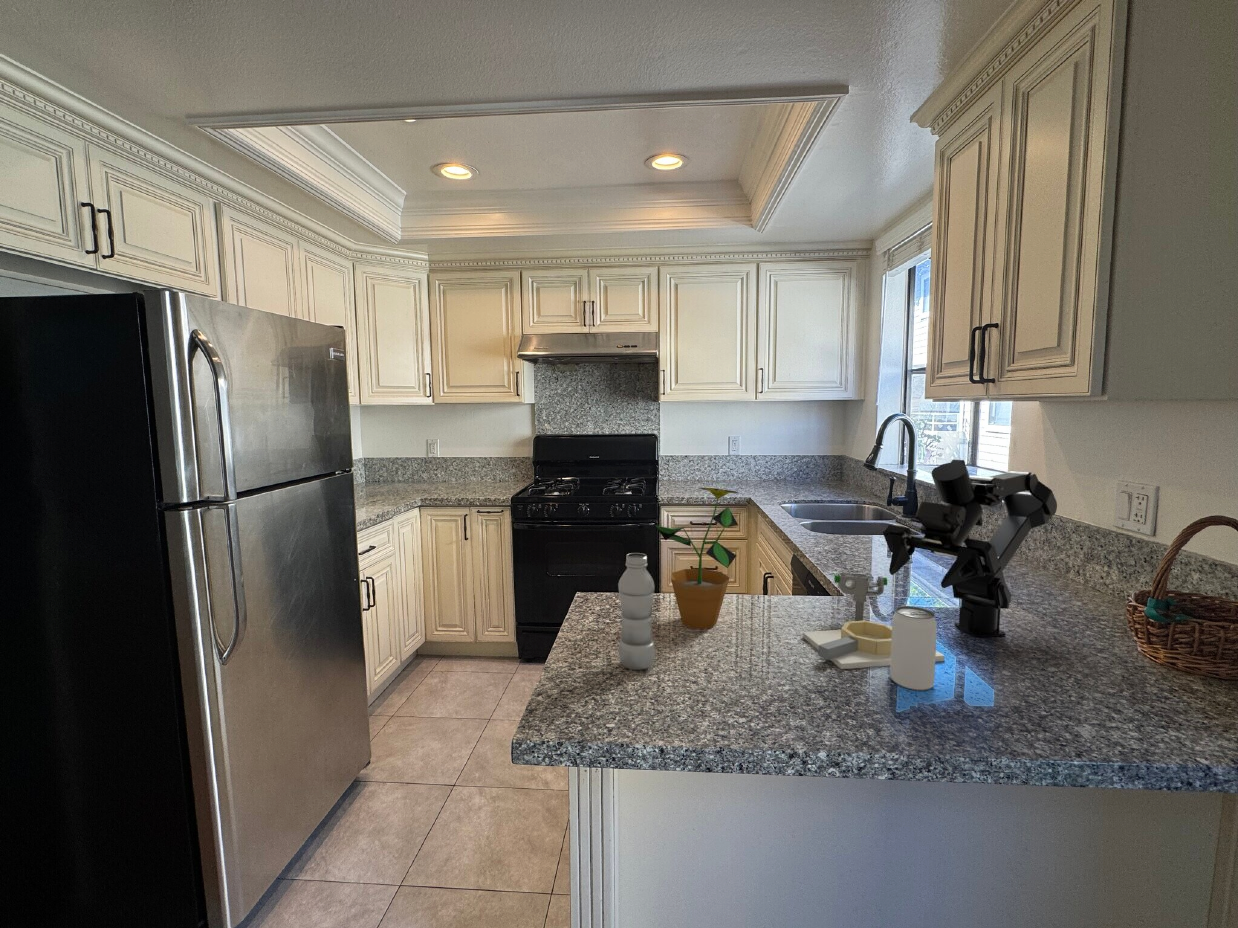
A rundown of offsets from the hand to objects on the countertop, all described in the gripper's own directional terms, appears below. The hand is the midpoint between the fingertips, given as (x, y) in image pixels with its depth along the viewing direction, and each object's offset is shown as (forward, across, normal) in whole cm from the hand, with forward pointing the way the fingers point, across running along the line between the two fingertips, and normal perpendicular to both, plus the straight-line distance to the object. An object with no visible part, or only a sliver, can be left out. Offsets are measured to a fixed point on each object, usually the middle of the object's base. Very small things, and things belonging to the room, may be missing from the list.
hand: (915, 579), depth 97 cm
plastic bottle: (+44, -26, -11) cm, 52 cm away
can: (+15, +4, +8) cm, 18 cm away
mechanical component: (+1, -17, +18) cm, 24 cm away
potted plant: (+25, -35, +2) cm, 43 cm away
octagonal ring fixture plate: (+10, -7, +12) cm, 17 cm away
